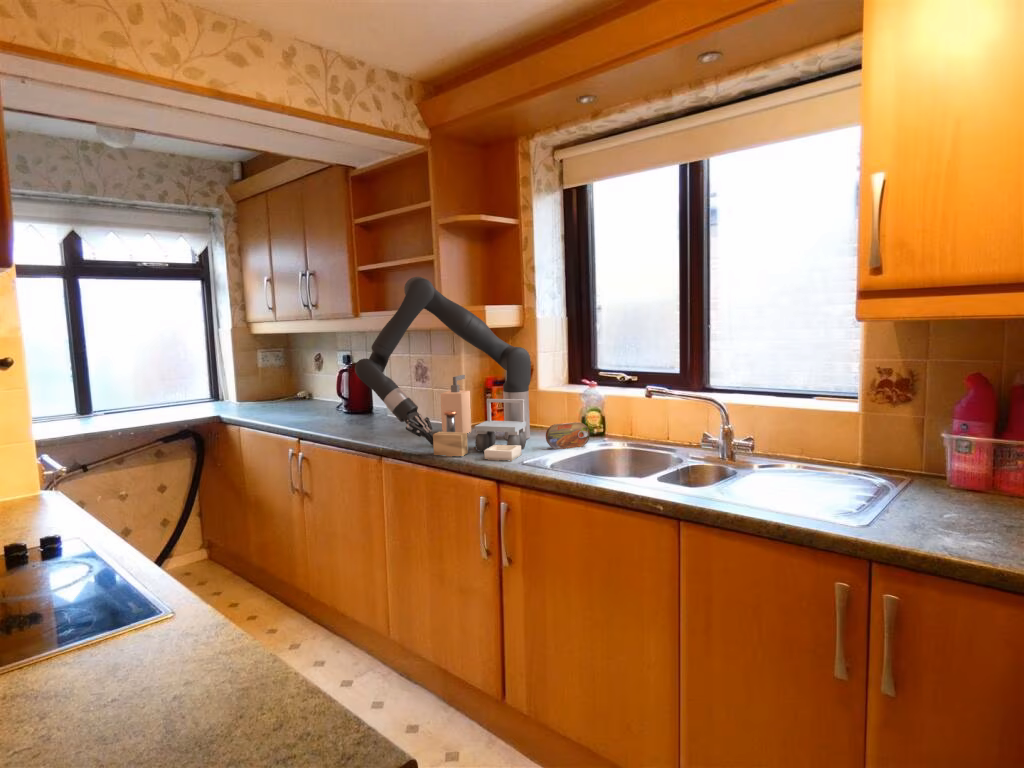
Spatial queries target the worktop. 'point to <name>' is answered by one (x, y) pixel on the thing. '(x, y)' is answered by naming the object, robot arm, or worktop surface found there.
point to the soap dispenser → (457, 407)
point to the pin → (450, 420)
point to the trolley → (501, 428)
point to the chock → (450, 443)
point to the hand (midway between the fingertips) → (435, 442)
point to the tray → (502, 452)
